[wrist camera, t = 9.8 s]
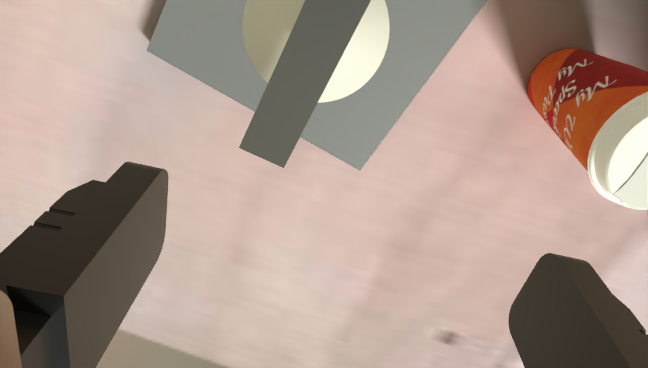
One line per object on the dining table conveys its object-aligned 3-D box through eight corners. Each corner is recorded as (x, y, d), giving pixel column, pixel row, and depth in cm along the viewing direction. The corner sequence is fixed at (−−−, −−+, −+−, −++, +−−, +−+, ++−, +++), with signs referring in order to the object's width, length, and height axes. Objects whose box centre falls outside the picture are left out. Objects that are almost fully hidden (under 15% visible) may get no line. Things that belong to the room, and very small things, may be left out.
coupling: (296, -111, 23) (276, -129, 16) (424, -35, 25) (460, -20, 18) (224, 72, 28) (184, 123, 21) (334, 125, 30) (333, 190, 23)
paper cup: (523, 35, 35) (622, 93, 22) (624, 32, 34) (780, 90, 22) (506, 128, 38) (582, 220, 26) (596, 126, 38) (716, 218, 26)
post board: (513, -47, 32) (562, -40, 25) (359, 162, 41) (363, 211, 34) (267, -239, 27) (242, -297, 20) (153, 46, 36) (108, 74, 29)
